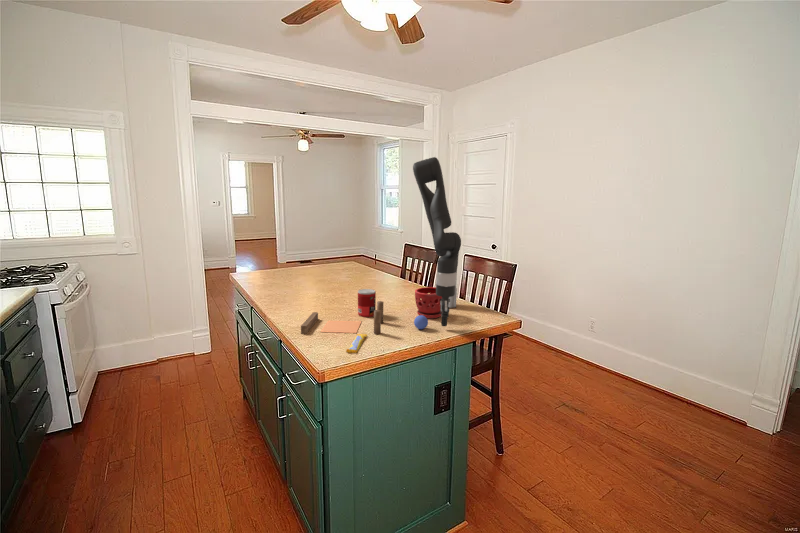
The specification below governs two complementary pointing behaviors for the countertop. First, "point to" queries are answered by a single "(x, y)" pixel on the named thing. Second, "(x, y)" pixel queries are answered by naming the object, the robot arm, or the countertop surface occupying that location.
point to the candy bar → (356, 343)
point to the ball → (421, 322)
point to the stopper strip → (309, 323)
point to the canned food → (366, 302)
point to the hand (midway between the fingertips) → (444, 325)
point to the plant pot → (428, 302)
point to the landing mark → (341, 326)
